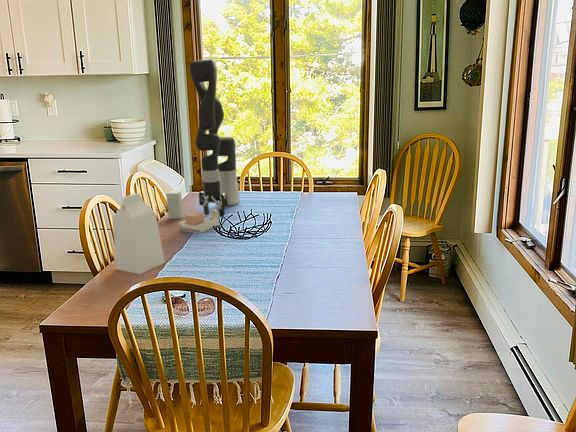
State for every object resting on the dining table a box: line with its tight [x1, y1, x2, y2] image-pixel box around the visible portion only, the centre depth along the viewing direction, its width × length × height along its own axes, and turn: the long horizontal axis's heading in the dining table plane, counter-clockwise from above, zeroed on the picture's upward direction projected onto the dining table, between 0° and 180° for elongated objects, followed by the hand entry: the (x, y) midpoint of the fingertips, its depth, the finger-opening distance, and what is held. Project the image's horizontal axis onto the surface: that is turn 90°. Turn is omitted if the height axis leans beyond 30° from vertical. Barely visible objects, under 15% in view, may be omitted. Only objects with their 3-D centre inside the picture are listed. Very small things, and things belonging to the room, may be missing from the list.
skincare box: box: [165, 190, 185, 219], centre depth 260 cm, size 6×4×12 cm
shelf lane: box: [179, 216, 220, 234], centre depth 242 cm, size 13×11×4 cm
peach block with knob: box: [184, 209, 219, 226], centre depth 244 cm, size 17×6×6 cm, turn 148°
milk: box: [112, 192, 166, 275], centre depth 197 cm, size 12×12×26 cm
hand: (214, 215), depth 250 cm, fingers open, 8 cm apart
